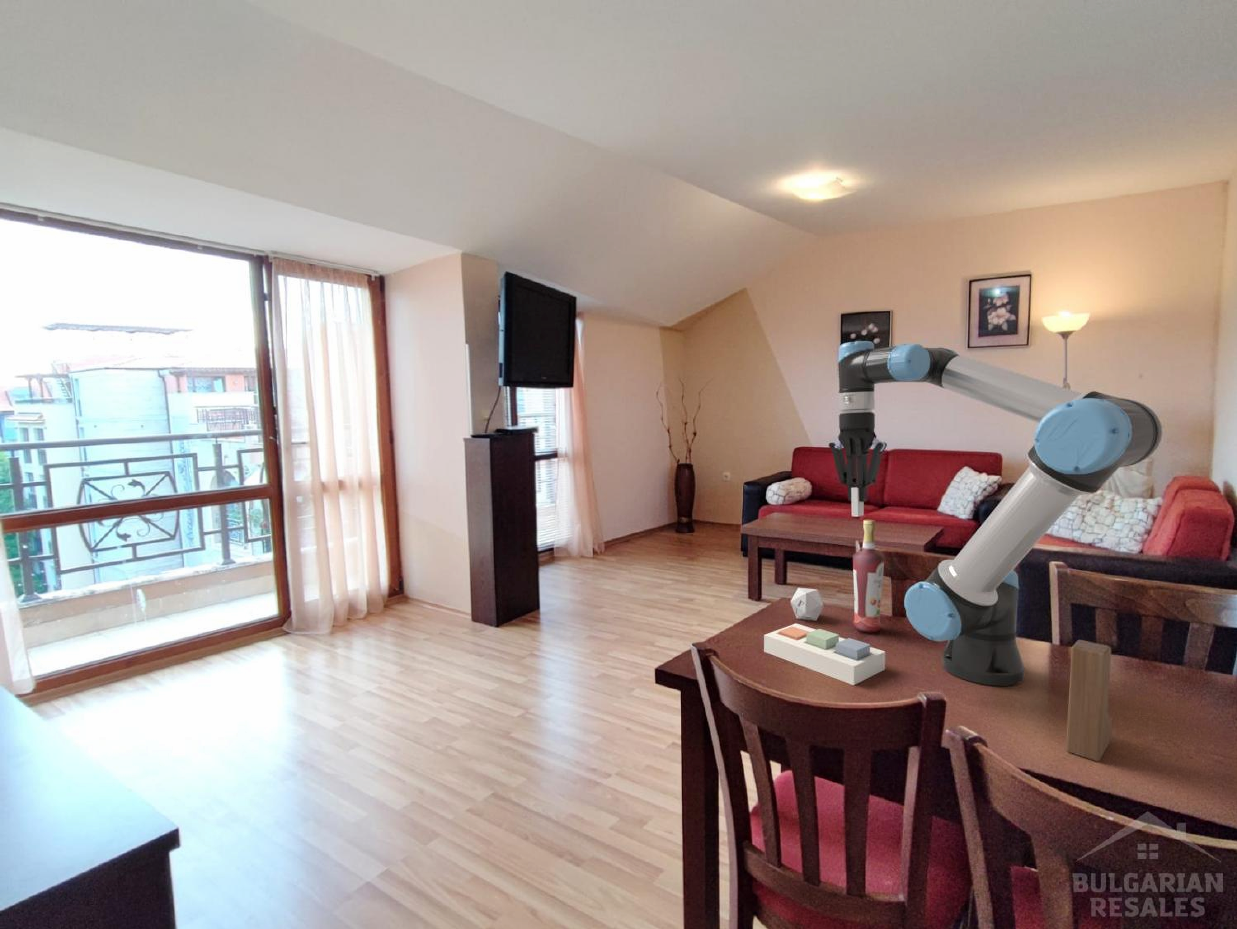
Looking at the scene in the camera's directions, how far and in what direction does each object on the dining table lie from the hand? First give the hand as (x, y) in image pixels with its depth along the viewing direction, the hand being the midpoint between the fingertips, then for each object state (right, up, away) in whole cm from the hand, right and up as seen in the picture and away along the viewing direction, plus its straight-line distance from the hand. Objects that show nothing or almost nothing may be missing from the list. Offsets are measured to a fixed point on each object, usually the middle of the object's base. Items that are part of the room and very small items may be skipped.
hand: (857, 515), depth 144 cm
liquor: (+9, -30, +16) cm, 36 cm away
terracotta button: (-13, -30, +4) cm, 33 cm away
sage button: (-9, -29, -2) cm, 31 cm away
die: (-4, -30, +26) cm, 40 cm away
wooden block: (+24, -36, -39) cm, 58 cm away
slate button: (-4, -30, -8) cm, 31 cm away
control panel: (-9, -32, -2) cm, 34 cm away
